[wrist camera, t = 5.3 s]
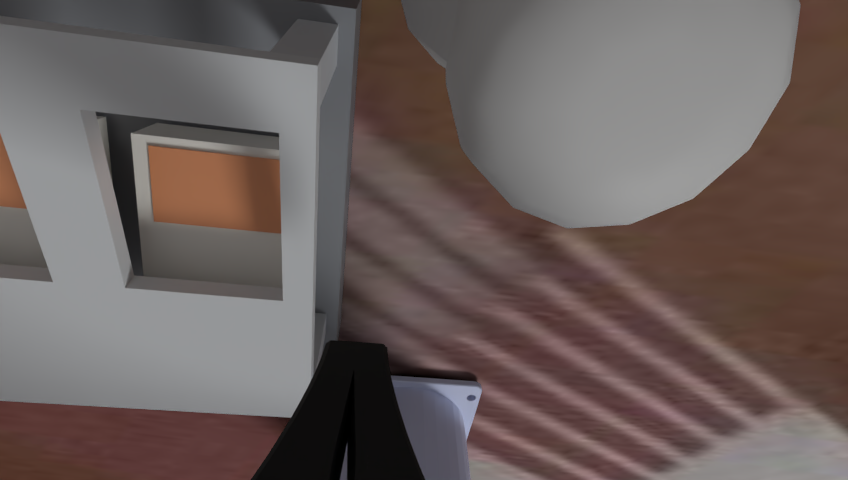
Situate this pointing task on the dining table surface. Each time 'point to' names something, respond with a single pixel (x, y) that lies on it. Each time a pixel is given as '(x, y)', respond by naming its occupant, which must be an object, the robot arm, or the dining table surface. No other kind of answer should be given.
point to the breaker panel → (117, 204)
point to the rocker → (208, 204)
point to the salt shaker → (607, 95)
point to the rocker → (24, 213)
